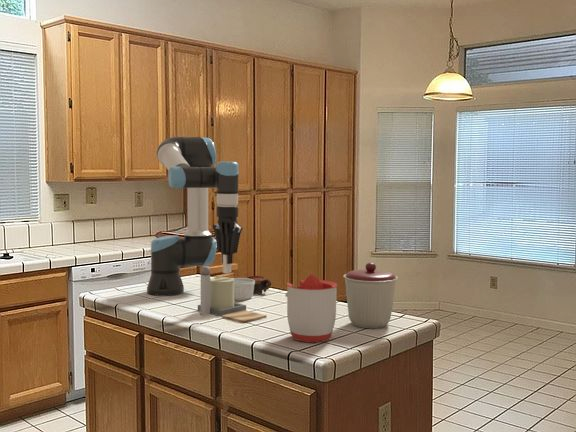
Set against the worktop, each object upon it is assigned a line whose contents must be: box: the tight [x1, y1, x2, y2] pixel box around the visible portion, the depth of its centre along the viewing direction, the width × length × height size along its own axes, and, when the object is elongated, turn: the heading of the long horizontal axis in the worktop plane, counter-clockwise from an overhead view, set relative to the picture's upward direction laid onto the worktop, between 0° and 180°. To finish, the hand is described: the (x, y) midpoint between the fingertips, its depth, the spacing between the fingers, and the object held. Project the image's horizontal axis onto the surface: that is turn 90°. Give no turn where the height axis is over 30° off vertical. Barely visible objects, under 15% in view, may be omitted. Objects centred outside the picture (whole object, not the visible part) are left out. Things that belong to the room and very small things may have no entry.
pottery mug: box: [247, 275, 272, 295], centre depth 258 cm, size 12×10×8 cm
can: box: [210, 276, 235, 310], centre depth 225 cm, size 9×9×12 cm
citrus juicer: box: [285, 273, 338, 344], centre depth 190 cm, size 16×17×20 cm
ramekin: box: [232, 277, 255, 301], centre depth 248 cm, size 13×13×7 cm
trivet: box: [221, 310, 267, 324], centre depth 215 cm, size 11×11×1 cm
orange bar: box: [200, 263, 239, 275], centre depth 223 cm, size 3×16×2 cm, turn 139°
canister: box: [342, 262, 399, 329], centre depth 206 cm, size 18×18×21 cm
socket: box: [197, 274, 247, 317], centre depth 223 cm, size 12×15×14 cm
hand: (227, 272), depth 216 cm, fingers closed
